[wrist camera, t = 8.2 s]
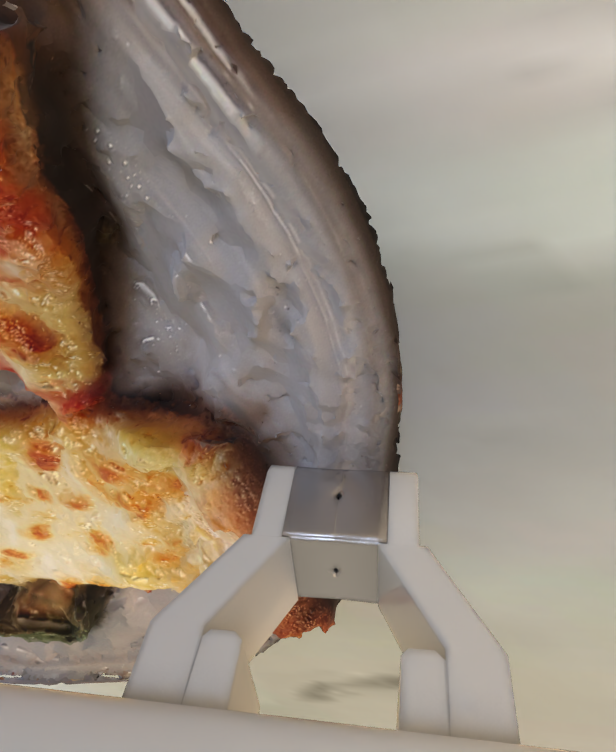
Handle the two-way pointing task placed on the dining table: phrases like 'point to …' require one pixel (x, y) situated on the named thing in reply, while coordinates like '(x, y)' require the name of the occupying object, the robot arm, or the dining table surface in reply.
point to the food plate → (165, 320)
